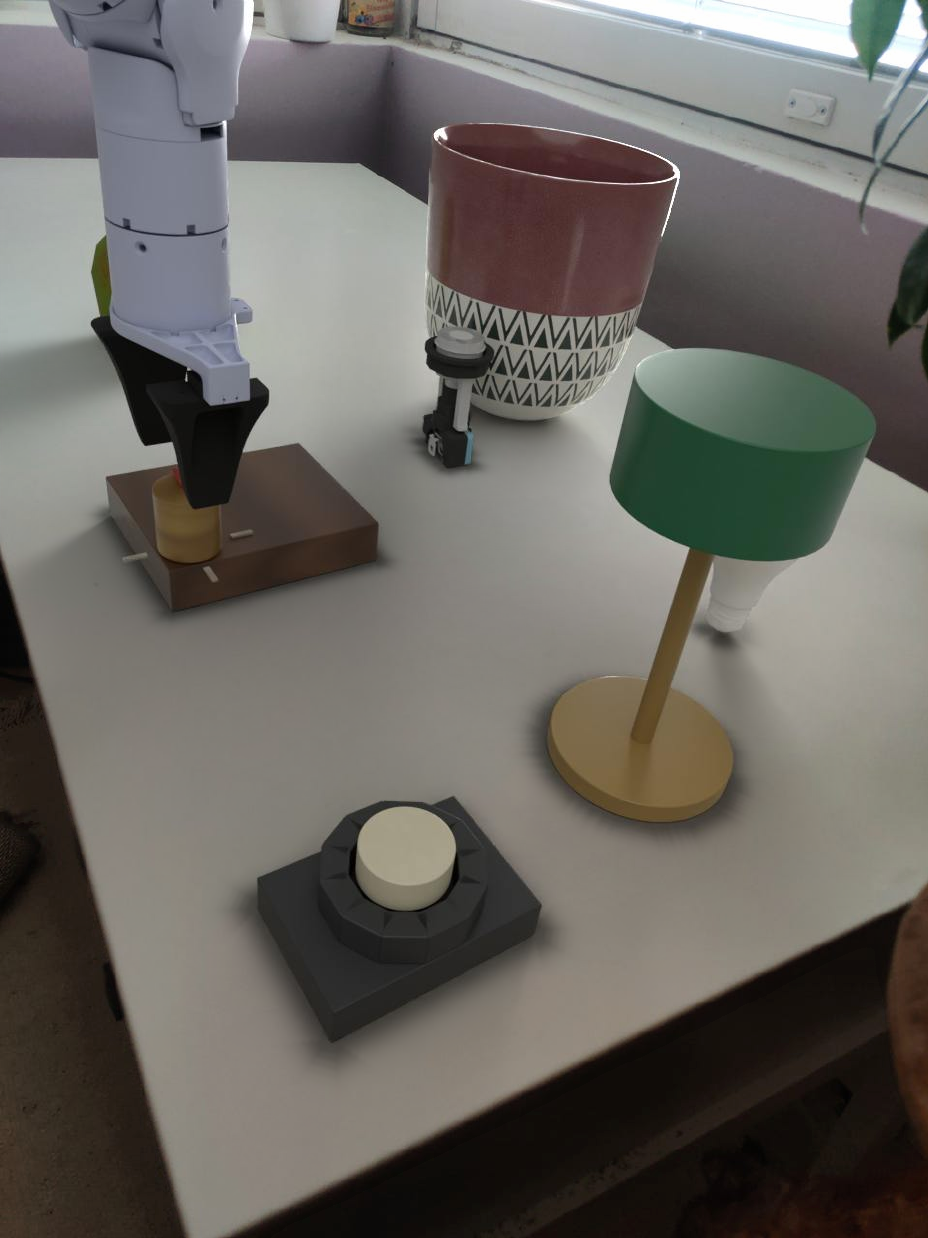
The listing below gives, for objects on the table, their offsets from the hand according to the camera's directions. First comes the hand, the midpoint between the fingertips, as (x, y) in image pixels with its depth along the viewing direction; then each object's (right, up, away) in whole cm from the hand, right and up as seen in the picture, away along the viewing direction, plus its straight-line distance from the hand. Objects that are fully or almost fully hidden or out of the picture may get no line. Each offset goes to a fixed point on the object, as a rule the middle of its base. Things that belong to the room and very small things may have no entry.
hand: (183, 470), depth 53 cm
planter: (+20, +11, +33) cm, 40 cm away
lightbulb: (+33, -9, +9) cm, 35 cm away
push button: (+14, +5, +24) cm, 29 cm away
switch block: (+13, -22, -12) cm, 28 cm away
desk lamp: (+25, -16, -1) cm, 30 cm away
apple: (-12, +17, +34) cm, 40 cm away
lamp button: (+13, -19, -14) cm, 27 cm away
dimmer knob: (-1, -4, +4) cm, 5 cm away
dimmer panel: (+1, -4, +9) cm, 10 cm away
